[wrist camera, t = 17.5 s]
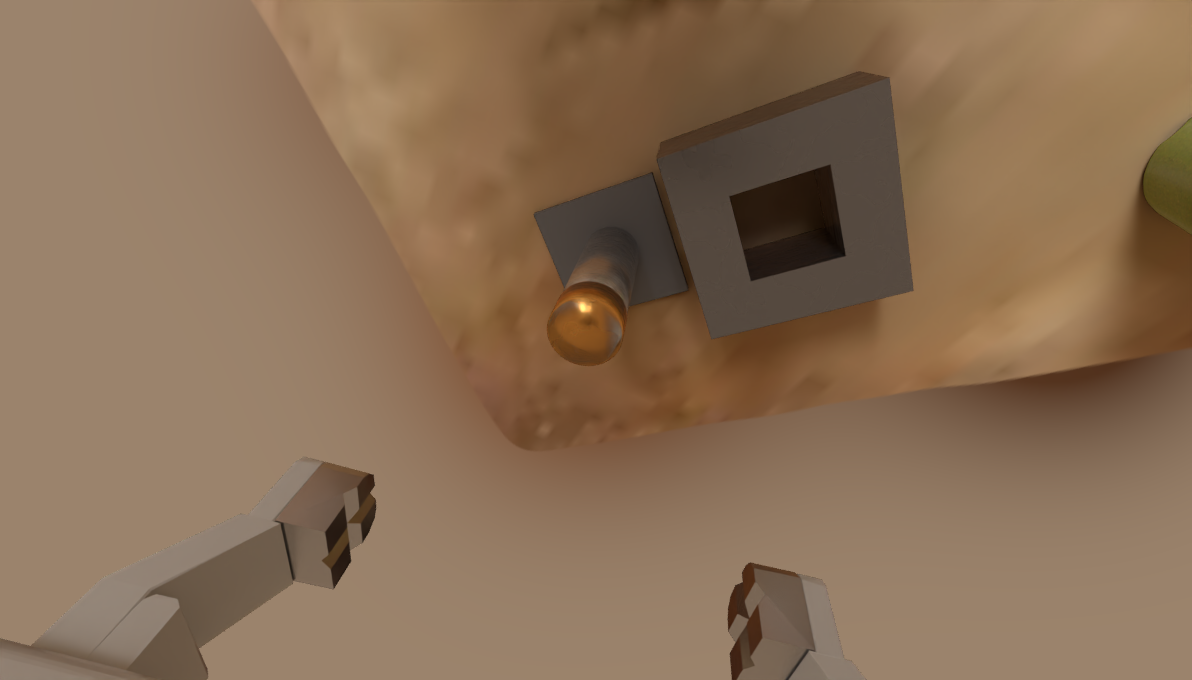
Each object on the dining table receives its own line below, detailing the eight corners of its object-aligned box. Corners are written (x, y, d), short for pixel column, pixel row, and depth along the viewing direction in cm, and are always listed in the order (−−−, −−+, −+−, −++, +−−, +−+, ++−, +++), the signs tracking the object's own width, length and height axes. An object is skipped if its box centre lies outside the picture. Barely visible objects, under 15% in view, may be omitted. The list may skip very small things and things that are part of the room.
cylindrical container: (580, 273, 36) (542, 356, 27) (589, 220, 34) (552, 290, 25) (634, 284, 36) (615, 373, 27) (645, 232, 34) (629, 307, 25)
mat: (535, 212, 35) (533, 214, 35) (652, 172, 33) (651, 174, 32) (579, 317, 38) (578, 320, 38) (688, 287, 36) (688, 290, 36)
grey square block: (660, 142, 32) (656, 159, 28) (858, 71, 29) (889, 77, 24) (708, 303, 36) (711, 339, 32) (884, 257, 33) (913, 290, 29)
